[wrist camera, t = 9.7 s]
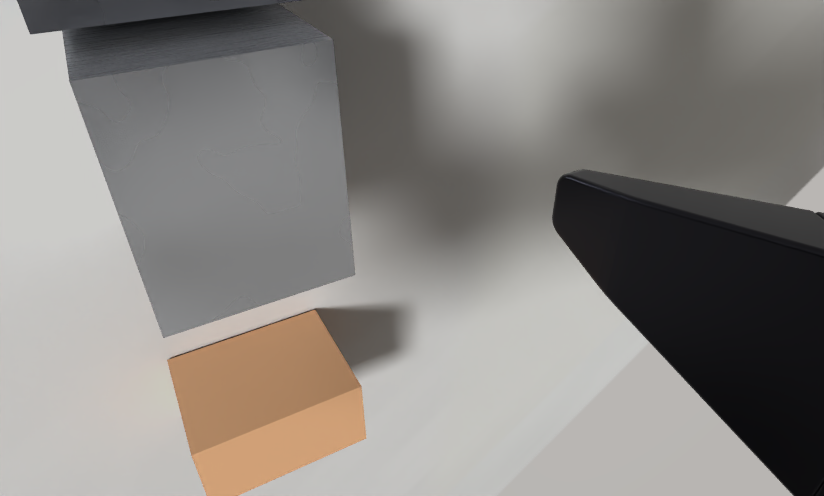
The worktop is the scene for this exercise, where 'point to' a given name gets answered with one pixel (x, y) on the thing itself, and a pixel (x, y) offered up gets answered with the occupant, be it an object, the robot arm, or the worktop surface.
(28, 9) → the block
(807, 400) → the robot arm
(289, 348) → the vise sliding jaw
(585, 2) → the worktop surface
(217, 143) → the steel block
